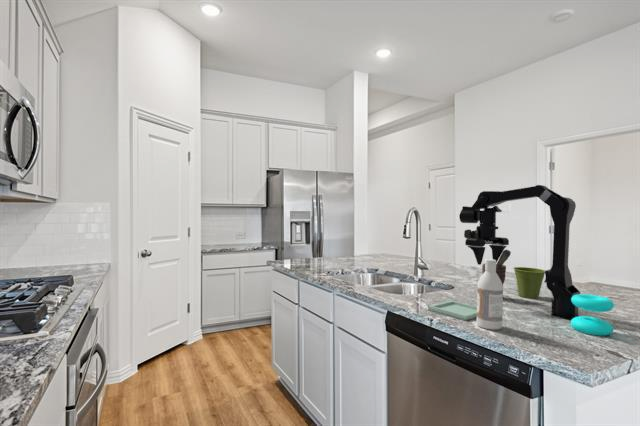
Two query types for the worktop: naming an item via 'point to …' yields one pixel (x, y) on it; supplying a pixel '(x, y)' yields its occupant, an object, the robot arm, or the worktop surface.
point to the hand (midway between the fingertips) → (487, 263)
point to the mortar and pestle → (500, 265)
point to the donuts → (592, 323)
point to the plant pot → (529, 281)
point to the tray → (455, 310)
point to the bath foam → (490, 298)
